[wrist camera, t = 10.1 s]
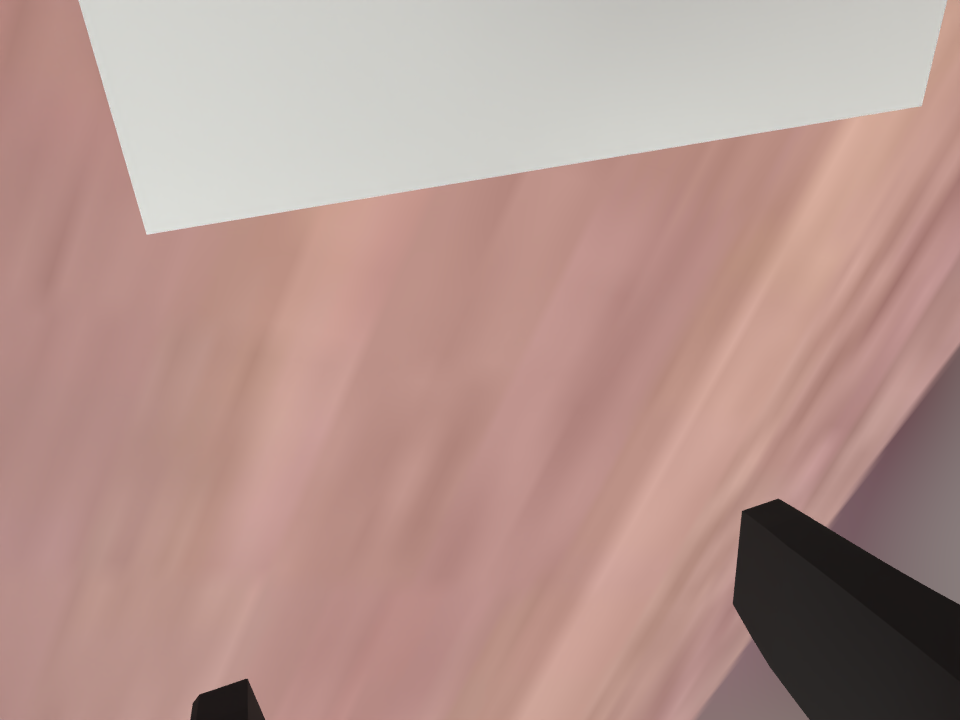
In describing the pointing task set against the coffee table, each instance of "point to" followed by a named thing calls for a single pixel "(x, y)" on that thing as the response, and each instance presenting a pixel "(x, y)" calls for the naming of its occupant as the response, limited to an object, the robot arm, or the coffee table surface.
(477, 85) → the socket block
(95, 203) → the coffee table surface
